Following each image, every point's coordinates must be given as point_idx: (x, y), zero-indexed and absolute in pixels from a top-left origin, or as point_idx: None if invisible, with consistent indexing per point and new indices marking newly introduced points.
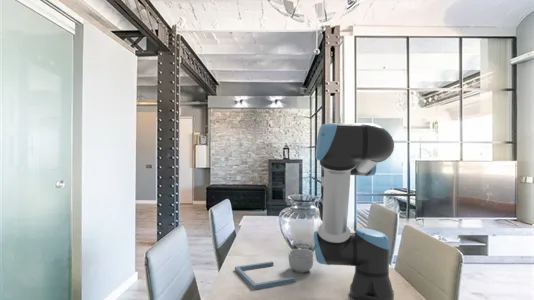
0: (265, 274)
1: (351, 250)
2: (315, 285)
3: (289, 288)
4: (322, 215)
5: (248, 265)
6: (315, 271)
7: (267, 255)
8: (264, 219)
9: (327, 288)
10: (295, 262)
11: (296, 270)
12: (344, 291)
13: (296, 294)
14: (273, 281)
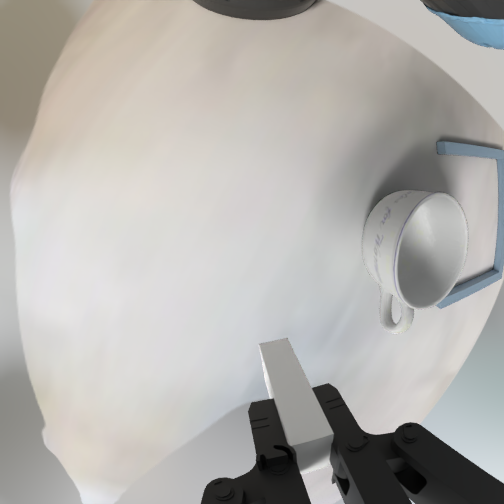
0: (471, 230)
1: None
2: (395, 90)
3: (454, 113)
4: (468, 467)
5: (486, 282)
6: (348, 205)
7: (401, 380)
8: None
9: (368, 55)
10: (446, 211)
11: (419, 211)
12: (324, 18)
13: (446, 76)
14: (483, 150)
